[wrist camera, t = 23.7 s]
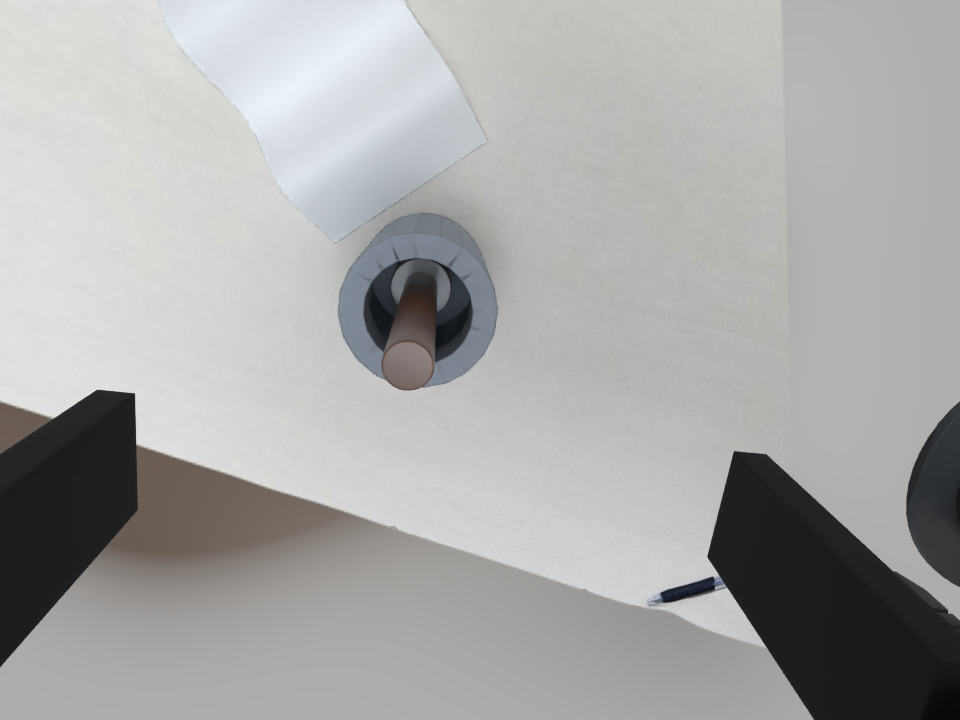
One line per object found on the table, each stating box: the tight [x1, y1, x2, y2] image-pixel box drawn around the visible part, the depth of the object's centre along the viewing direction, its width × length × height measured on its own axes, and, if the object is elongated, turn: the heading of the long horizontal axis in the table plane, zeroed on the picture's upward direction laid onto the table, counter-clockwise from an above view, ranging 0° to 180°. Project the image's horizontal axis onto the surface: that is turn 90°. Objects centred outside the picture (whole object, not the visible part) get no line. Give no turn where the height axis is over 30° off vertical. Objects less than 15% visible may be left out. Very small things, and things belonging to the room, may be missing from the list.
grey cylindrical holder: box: [338, 213, 498, 388], centre depth 43 cm, size 9×9×13 cm
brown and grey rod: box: [381, 258, 451, 391], centre depth 38 cm, size 4×4×22 cm
